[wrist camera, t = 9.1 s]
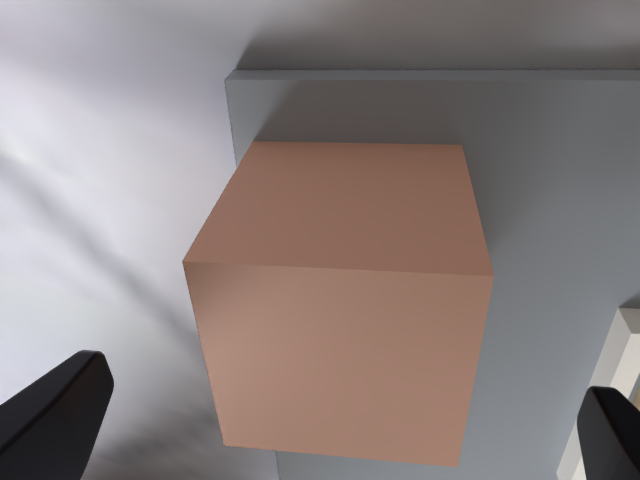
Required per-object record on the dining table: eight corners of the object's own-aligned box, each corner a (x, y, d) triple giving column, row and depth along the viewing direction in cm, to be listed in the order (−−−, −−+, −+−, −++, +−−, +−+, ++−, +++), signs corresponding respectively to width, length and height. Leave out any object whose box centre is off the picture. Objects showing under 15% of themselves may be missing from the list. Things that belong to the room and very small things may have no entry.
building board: (771, 565, 21) (799, 616, 20) (290, 513, 24) (282, 554, 22) (1231, 69, 10) (1373, 100, 9) (233, 69, 13) (211, 93, 11)
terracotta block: (441, 307, 15) (458, 467, 11) (270, 297, 15) (224, 445, 11) (461, 144, 12) (493, 275, 8) (252, 141, 13) (182, 261, 9)
